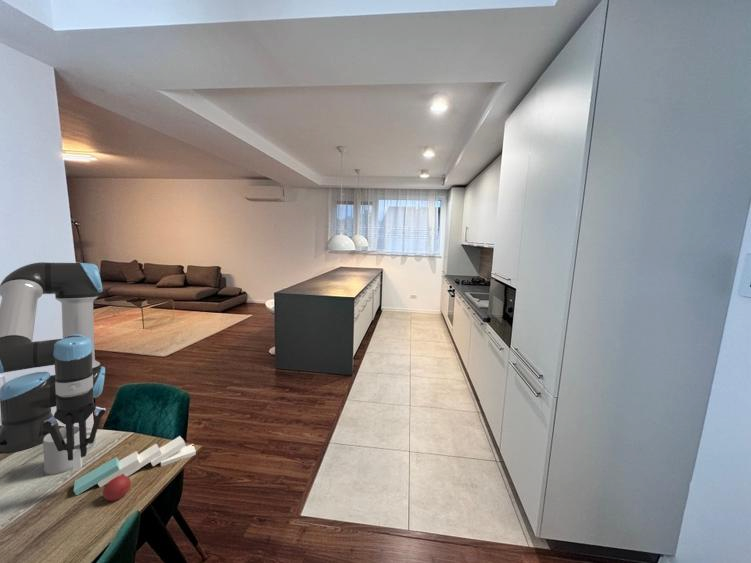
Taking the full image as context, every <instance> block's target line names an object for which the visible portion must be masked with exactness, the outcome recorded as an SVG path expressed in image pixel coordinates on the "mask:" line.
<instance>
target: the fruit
mask: <svg viewBox="0 0 751 563" xmlns="http://www.w3.org/2000/svg"><path fill="white" fill-rule="evenodd" d="M131 485H132V482H131V479H130V477H129V476H128V477H127V476H125V475H124V474H122V475H120V476H117V477H115V478H114V479H112V480H111V481H109V482H108V483H107V484H105V485H104V486H103V490H102V496H103V498H104V499H105V500H106V501H110V502H116V501H119V500H120V499H122V498H124V497H125V495H127V493H128V492H129V490H130V488H131Z"/></svg>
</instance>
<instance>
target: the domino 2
mask: <svg viewBox="0 0 751 563" xmlns="http://www.w3.org/2000/svg"><path fill="white" fill-rule="evenodd" d="M139 454H140V453H138V451H137V450H136V451H134V452H132V453H131V454H128V455H127V456H125V457H124V458H121V459H120V460H119V468H120V470H118V471H117V472H115V473H113V474H112V475H110V476H108V477H107V478H105V479H103V480H102V481H100V482H98V483H97V484H96V485H98V486H99V488H103V487H105V485H106V484H107V483H108V482H109V481H111V480H112V479H114V478H115V477H117V476H120V475H124V474H123V473H125V472H127V471H128V470H130V469H132V468H133V467H135V466H137V465H138V464H140V460H139Z"/></svg>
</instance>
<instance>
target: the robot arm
mask: <svg viewBox="0 0 751 563" xmlns="http://www.w3.org/2000/svg"><path fill="white" fill-rule="evenodd" d="M103 291H104V290H103V285H102V279H101V274H100V271H99V267H98V265H96V264H95V263H87V262H47V261H46V262H44V261H43V262H33V263H30V264H29V263H28V264H26V265H23V266H21V267H19V268H16V269H14V270H13V271H12V272H10V273H9V274H8V275H6V276H5V277H4V278H3V279H2V280H1V283H0V297H1V300H0V374H4V373H11V372H16V371H21V370H22V371H23V370H28V369H29V370H30V369H36V368H41V367H42V368H43V367H49V366H54V373H55V374H53V375H51V373H50V372H49V371H37V372H32V373H27V374H25V375H24V374H23V375H21V376H16V377H15V378H12V379H10V380H8V381H7V382H5V383H4V384H2V385H1V387H0V421H1V425H0V453H13V452H19V451H23V450H26V449H30V448H33V447H36V446H39V445H41V444H43V439H44V437H45V436H46V435H48V434H49V433H50V435H51V437H52V439H53V441H54V443H55V446H56V448H57V450H58V451H63V450H66V451H67V454H68V461H70V460H73V468H72V469H73V472H78V471H81V469H82V466H83V458H84V457H86V456H87V453H88V450H87V445H88V444H90V443H93V442H94V439H95V436H96V437H97V433H98V429H99V425H100V423H101V422H100V421H101V420H102V419H101V418H102V417H103V416H104V415H105V413H106V409H107V408H106V407H105V406H102V407H99V406H97V404H96V403H95V402H94V400H95V398H97V397H99V396H101V394H102V392H103V390H104V383H105V378H106V375H105V374H106V367H105V366H101V362H99V361H98V360H96V356H95V352H96V351H95V324H94V320H95V318H94V301H95V300H97V298H99V293H102V292H103ZM43 295H55V296H54V297H55V298H54V299H55V300H56V301H58V302H60V303H61V324H62V338H56V339H46V340H41V341H40V340H37V341H33V339H34V332H35V322H36V316H37V307H38V299H39V298H41V297H42V296H43ZM54 407H56V408H55V409H56V410H55V411H54V412H55V413H54V414H53V413H52V408H54ZM92 413H94V416H95V417H94V421H93V424H92V428H91V430H92V431H91V434H90V435H89V437H87V436H88V435H86V430H87V420H88V419H89V417H90V416H91V415H92ZM59 422H60V423H62V424H63V425H65V427H66V437H67V443H65V441H64V439H63V437H62V435H61V433H60V430H59V429H60V428H59V427H60V425H59ZM75 424H78V427H79V439H80V444H79V445H75V446H74V444H75V442H74V426H75Z"/></svg>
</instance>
